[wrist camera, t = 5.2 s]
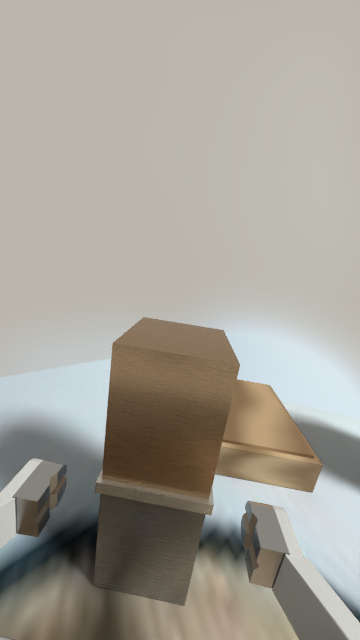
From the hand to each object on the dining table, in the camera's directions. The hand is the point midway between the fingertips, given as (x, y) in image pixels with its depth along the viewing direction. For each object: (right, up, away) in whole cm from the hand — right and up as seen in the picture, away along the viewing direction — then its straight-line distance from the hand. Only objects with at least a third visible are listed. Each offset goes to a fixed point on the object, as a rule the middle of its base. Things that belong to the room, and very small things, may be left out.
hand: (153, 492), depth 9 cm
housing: (-1, -7, +4) cm, 8 cm away
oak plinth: (+7, -5, +16) cm, 18 cm away
